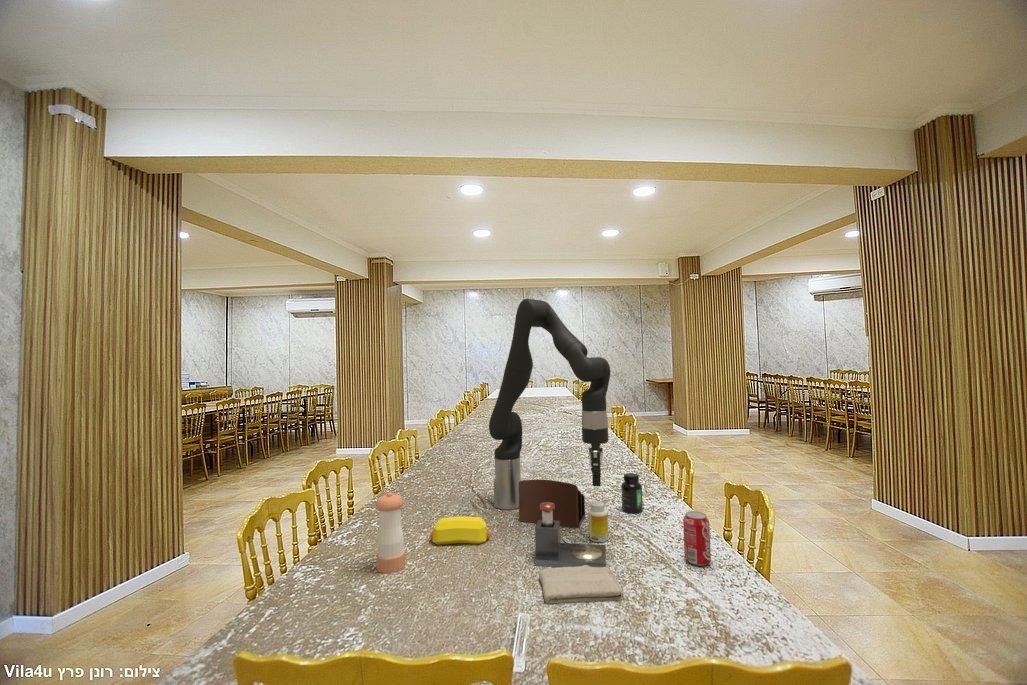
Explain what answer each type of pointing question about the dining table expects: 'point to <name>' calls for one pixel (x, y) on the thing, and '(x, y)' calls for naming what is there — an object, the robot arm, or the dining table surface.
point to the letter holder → (556, 492)
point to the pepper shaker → (390, 534)
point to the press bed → (565, 550)
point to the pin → (547, 513)
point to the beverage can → (697, 538)
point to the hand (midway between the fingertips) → (596, 481)
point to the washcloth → (579, 584)
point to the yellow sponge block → (460, 530)
